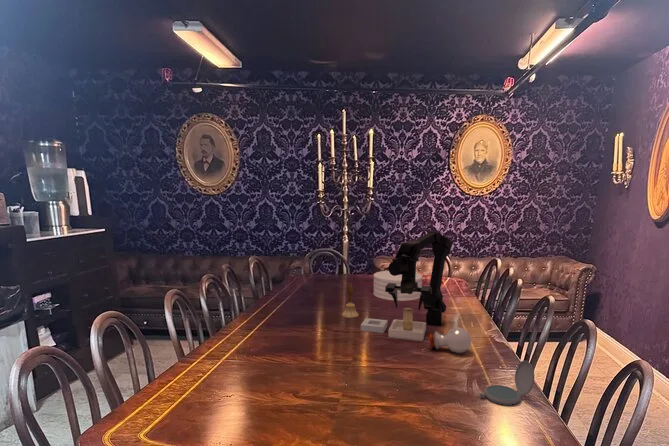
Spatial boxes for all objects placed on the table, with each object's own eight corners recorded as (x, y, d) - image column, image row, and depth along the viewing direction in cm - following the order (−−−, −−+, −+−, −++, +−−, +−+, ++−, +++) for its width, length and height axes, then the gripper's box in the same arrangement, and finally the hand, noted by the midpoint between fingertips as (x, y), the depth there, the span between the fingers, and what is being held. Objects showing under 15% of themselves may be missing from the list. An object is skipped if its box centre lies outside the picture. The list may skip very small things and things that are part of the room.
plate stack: (364, 291, 250) (365, 272, 250) (403, 287, 262) (404, 269, 261) (390, 303, 225) (390, 282, 224) (431, 297, 237) (432, 277, 236)
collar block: (387, 325, 187) (387, 320, 187) (383, 332, 177) (383, 327, 177) (365, 323, 190) (365, 318, 190) (360, 330, 180) (360, 324, 180)
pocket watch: (538, 369, 117) (486, 369, 117) (536, 406, 118) (484, 407, 117) (521, 355, 127) (472, 355, 127) (519, 389, 128) (471, 390, 127)
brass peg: (413, 331, 178) (413, 308, 177) (411, 334, 174) (412, 310, 173) (403, 330, 179) (404, 307, 178) (402, 333, 175) (402, 309, 174)
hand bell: (357, 318, 197) (357, 285, 196) (340, 317, 199) (340, 284, 198) (359, 313, 206) (360, 281, 204) (343, 312, 207) (343, 280, 206)
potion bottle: (473, 358, 155) (432, 358, 159) (471, 336, 162) (432, 336, 166) (471, 343, 149) (429, 344, 154) (469, 321, 156) (429, 322, 161)
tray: (425, 330, 181) (426, 322, 181) (422, 341, 168) (423, 333, 167) (393, 327, 185) (393, 319, 185) (388, 337, 172) (388, 329, 172)
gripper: (383, 274, 169) (382, 312, 171) (430, 277, 164) (429, 316, 165) (387, 269, 180) (387, 305, 181) (432, 272, 175) (431, 309, 176)
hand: (407, 309), depth 175 cm, fingers open, 9 cm apart
